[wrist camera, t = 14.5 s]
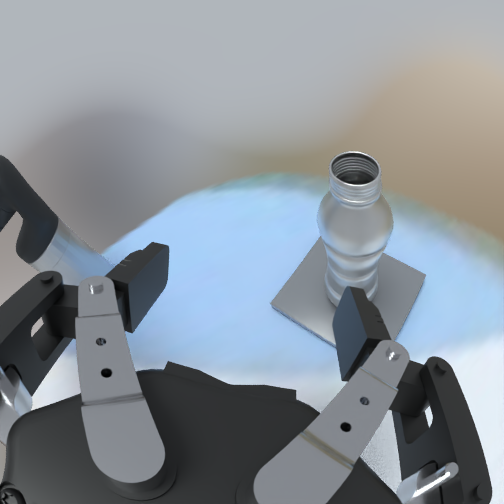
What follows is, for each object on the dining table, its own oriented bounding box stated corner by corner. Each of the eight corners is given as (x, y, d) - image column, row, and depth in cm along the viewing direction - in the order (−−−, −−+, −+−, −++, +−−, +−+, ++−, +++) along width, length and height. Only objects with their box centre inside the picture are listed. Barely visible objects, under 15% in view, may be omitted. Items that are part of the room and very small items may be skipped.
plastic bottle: (359, 260, 34) (364, 130, 18) (384, 302, 30) (421, 183, 14) (316, 280, 35) (291, 156, 19) (338, 325, 31) (338, 220, 15)
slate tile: (272, 307, 36) (270, 303, 35) (328, 232, 40) (327, 226, 39) (374, 371, 28) (376, 369, 26) (423, 280, 32) (426, 274, 30)
